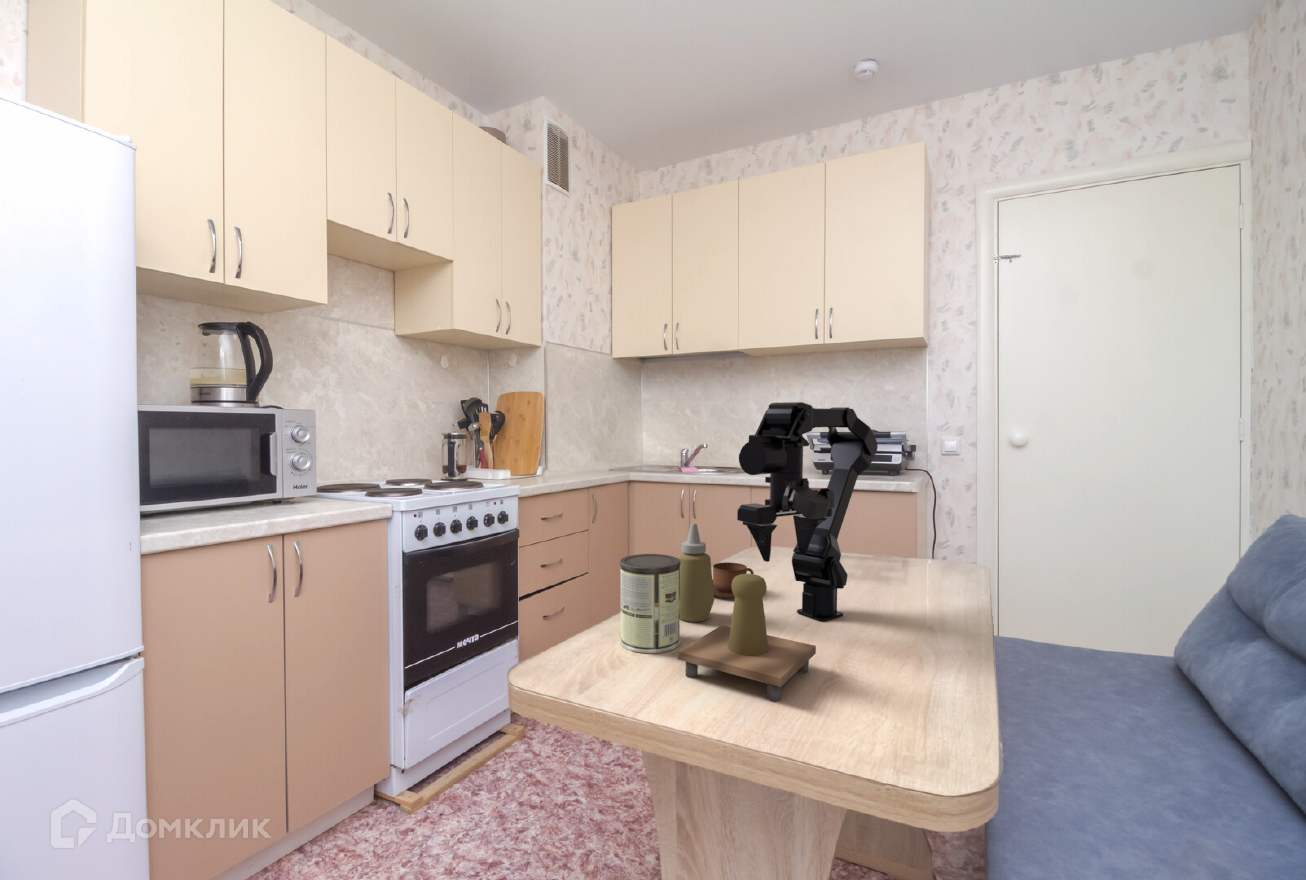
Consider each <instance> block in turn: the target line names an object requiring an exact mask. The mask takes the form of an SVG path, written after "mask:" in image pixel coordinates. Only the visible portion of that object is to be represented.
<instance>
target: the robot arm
mask: <svg viewBox="0 0 1306 880" xmlns="http://www.w3.org/2000/svg"><path fill="white" fill-rule="evenodd" d="M815 428H827V429H828V432H827V437H826V440H827V442H828V444H829V447H830V448H831V450H830V456H831V459H832V463H833V469H832V472H831V475H830V478H829V480H828V484H827V487H824V488H820V489H819V490H818V489H811V488H810V486H809V485H810V481H809V480H808V479H809V478H807V477H804V472H803V471H804V469H803V467H804V448H805V447H809V445H810V442H809V441H808V439H806V438H805V437H804V434H807V433H809V432H812V431H813V429H815ZM837 428H847V429H848V430H849V431H848V432H847V431H841V432H838V429H837ZM878 448H879V446H878V441H877V439H876V437H875V434H874V432H873V430H872V428H871V427H870V426H869V425H868V424H867V423H865V421H863V420H862V419H860V418H859V417H858V415H857V414H856V411H855V410H854V409H853V408H850V407H849V406H847V407H844V406H843V407H839V406H837V407H830V408H816V407H813V405H811V404H809V403H805V402H803V401H799V402H798V401H796V402H791V401H790V402H789V401H788V402H787V401H786V402H783V401H782V402H771V403H770V404H769V405H768V408H767V410H766V411H764V414H763V417H762V419H761V421H760V423H759V425H758V428H757V430H755V433H754V434H749V435H748V442H745V444H744V445H743V446H742V447H741V449H740V452H739V454H738V463H739V466H740V468H741V469H742V471H743V472H745V473H746V474H748V475H749V476H759V475H768V474H769V476H765V477H764V478H765V480H764V483H766V484H769V498H768V499H767V498H766V499H764V504H760V503H754V502H753V503H747V504H745V503H743V504H740V506H739V507H738V508H737V515H736V516H737V519H736V520H737V521H739V522H742V525H743V526H746V527H747V529H748V530H749V532H750V534H751V536H752V538H753V540H754V542H755V544H756V546H757V549H758V551H759V553H760V555H761V558H762V560H763V561H764V562H766V563H768V562H770V561H771V560H770V559H771V554H772V553H771V552H772V535H773V532H774V531H775V529H776V528H777V527H778V524H774V523H775V521H776V520H777V518H778V517H789V516H793V524H794V525H793V526H794V530H795V538H796V545H795V547H794V548H793V550H792V552H793V554H792V556H791V565H792V570H793V575H794V579H795V582H802V583H803V584H802V586H803V589H802V592H801V595H802V596H801V597H802V598H801V608H799V609H796V613H798V614H800V615H802V616H806V617H808V618H811V619H814V620H817V621H820V622H823V621H824V622H825V621H828V620H829V621H830V620H832V619H833V620H834V619H836V618H839V617H843V616H844V612H842V611H840V610H839V611H838V608H837V607H838V589H841V590H842V589H844V588H845V586H846V585H847V581H848V573H847V571H846V570H845V568H844V566H843V564H842V563H841V557H842V552H841V549H840V545H839V541H838V538H839V534H840V531H841V529H842V526H843V523H844V520H845V516H846V513H847V510H848V508H849V504H850V500H851V498H852V495H853V492H854V489H855V486H856V483H857V480H858V476H860V475H861V474H862V473H863V472H864V471H866V470H867V469H868V468H869V467H870V466H871V464H872V461H873V460H874V457H875V455H876V454H877V452H878Z"/></svg>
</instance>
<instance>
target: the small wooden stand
mask: <svg viewBox="0 0 1306 880" xmlns="http://www.w3.org/2000/svg"><path fill="white" fill-rule="evenodd" d="M730 629H731V626H727V625H723V624H721V625H720V626H717V627H716V628H715V629H713V630H711V631H709V632H708V633H706V634H705V635H702V636H701V637H699V638H698V639H697V640H695V641H693V642H691V643H690V644H688V645H686V646H685V647H683V648H681V649H679V650H678V651H677V660H678V661H682V662H685V677H686V678H690V679H691V678H694V679H695V678H696V677H698V675H699V671H698V670H699V669H698V668H699V666H701V667H703V668H704V667H705V668H708V669H712V670H715V671H720V672H723V673H727V674H731V675H734V676H738V677H742V678H746V679H748V680H749V679H750V680H752V681H757V682H760V683H764V684H767V686H766V687H767V690H766V692H767V693H766V697H767V698H766V699H767V700H769V701H771V702H779V701H781V698H782V686H783V685H784V684H785V683H786V682H787V681H789V679H790V678H791V677H793V676H794V674H796V673H800V674H807V673H809V672H810V671H809V670H810V669H809V667H810V666H809V665H810V664H809V663H810V660H811V659H812V658H813V657H814V656H815V655H816V653H817V652H816V651H817V650H816V649H817V648H816V647H817V645H813V644H809V643H805V642H800V641H796V640H791V639H787V638H783V637H777V636H773V635H770V634H767V640H768V648H769V650H768V652H767V653H765V654H763V655H758V656H745V655H740V654H736V653H734V652H732V651H730V650H729V649H728V643H729V636H730Z"/></svg>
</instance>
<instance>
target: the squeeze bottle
mask: <svg viewBox="0 0 1306 880" xmlns="http://www.w3.org/2000/svg"><path fill="white" fill-rule="evenodd" d="M706 544H707V543H706V542H705V541H704V542H703V541H701V537H700V534H699V528H698V523H691V524H690V526H689V531H688V535H687V540H686V541H683V542H681V552H680V553H678V554H677V555H676V558H678V559H680V561H681V564H680V611H679V615H680V617H679V620H681V621H684V622H693V623H694V622H695V623H696V622H698V623H699V622H703V621H706V620H708V619H709V617H710V614H711V612H712V609H713V606H714V602H715V596H714V592H713V581H712V579H713V569H712V562H711V559H712V558H711V556H710V555H709V554H707V553H706V546H707V545H706Z"/></svg>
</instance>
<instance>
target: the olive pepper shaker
mask: <svg viewBox="0 0 1306 880" xmlns="http://www.w3.org/2000/svg"><path fill="white" fill-rule="evenodd" d="M767 589H768V586H767V582H766V580H765V578H764V577H762V576H760V575H758V574H751V573H747V574H740V575H737V576H736V577H734V579H733V581H732V592H733V594H734V596H735V598H734V602H733V603H734V604H733V607H732V608H733V609H732V610H733V611H732V616H731V623H730V627H731V629H730V636H729V643H728V649H729V650H730V651H732V652H734V653H736V654H740V655H745V656H758V655H763V654H765V653H767V652H768V650H769V648H768V640H767V635H768V633H767V624H766V616H765V615H766V614H765V607H764V606H765V605H764V599H763V598H764V597H765V596H766V594H767Z"/></svg>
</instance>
